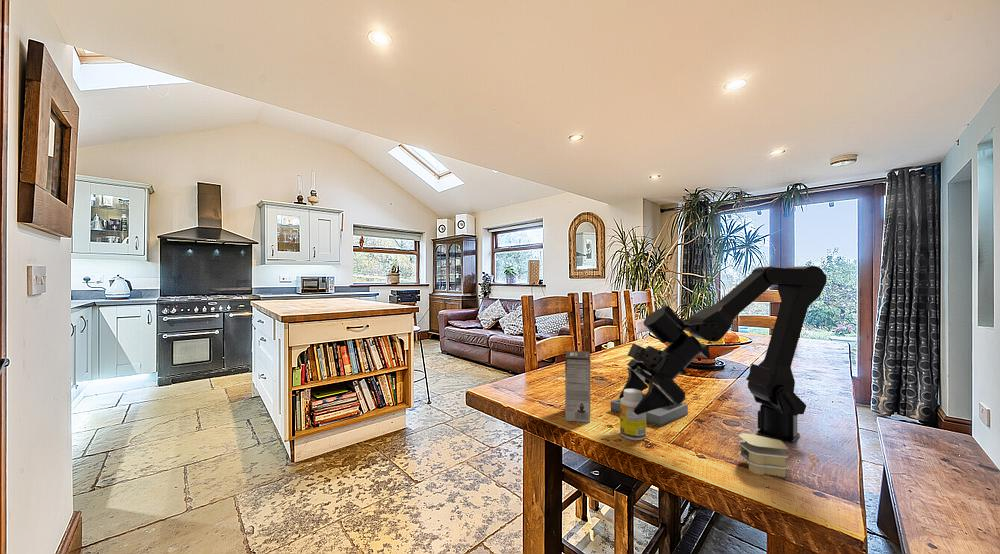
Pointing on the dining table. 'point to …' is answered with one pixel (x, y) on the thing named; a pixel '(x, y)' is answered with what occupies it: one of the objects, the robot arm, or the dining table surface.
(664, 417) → the tray
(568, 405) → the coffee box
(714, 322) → the robot arm
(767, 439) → the stacked layers on plate
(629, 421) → the supplement bottle
